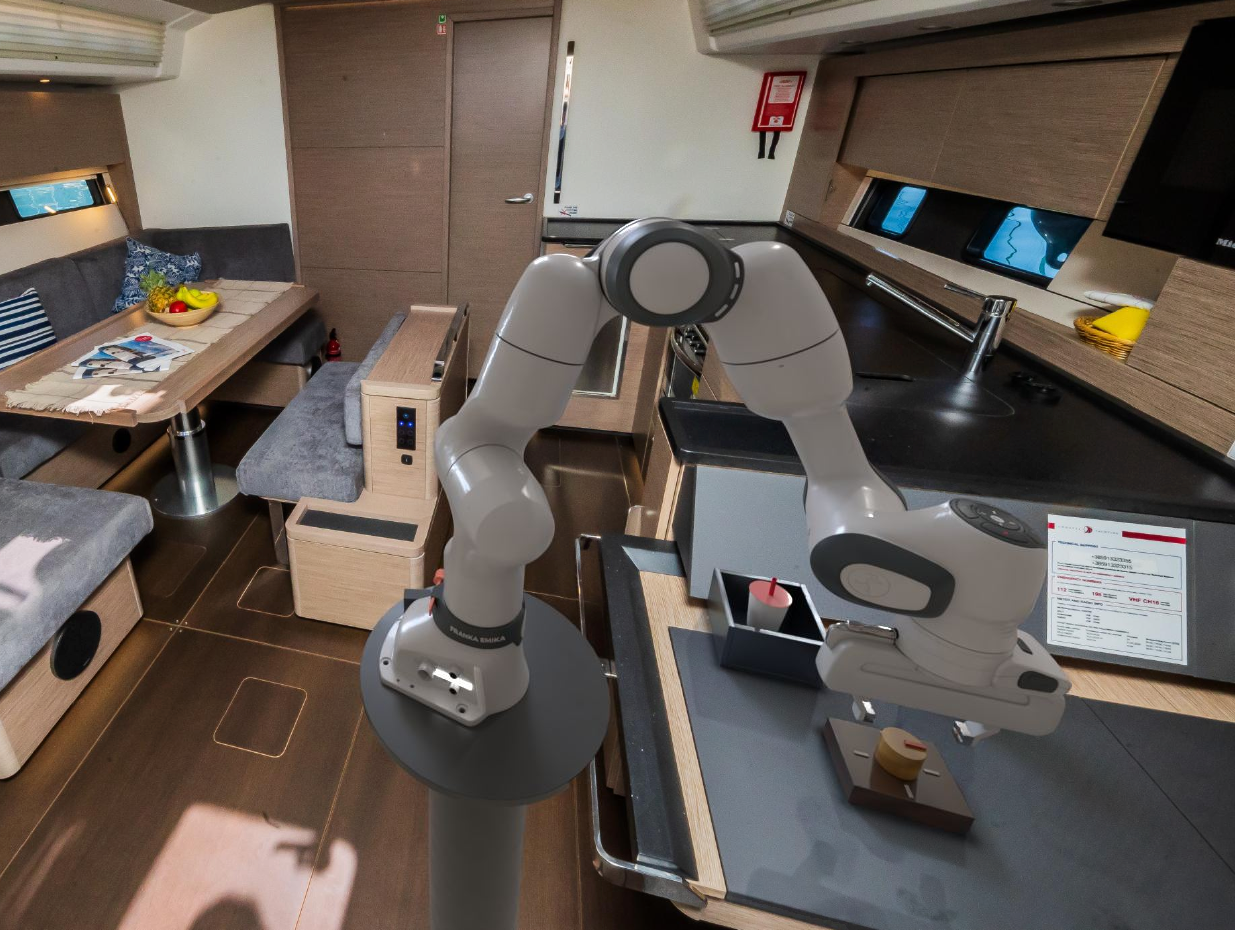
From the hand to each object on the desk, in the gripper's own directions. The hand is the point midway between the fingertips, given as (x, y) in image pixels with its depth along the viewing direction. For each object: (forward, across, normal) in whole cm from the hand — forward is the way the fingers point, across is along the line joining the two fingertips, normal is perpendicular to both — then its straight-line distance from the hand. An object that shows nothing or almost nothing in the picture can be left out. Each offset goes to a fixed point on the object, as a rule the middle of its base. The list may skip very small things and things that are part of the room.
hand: (910, 728), depth 67 cm
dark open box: (+9, -10, +18) cm, 22 cm away
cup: (+8, -10, +18) cm, 22 cm away
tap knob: (+6, 0, 0) cm, 6 cm away
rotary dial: (+9, 0, 0) cm, 9 cm away
